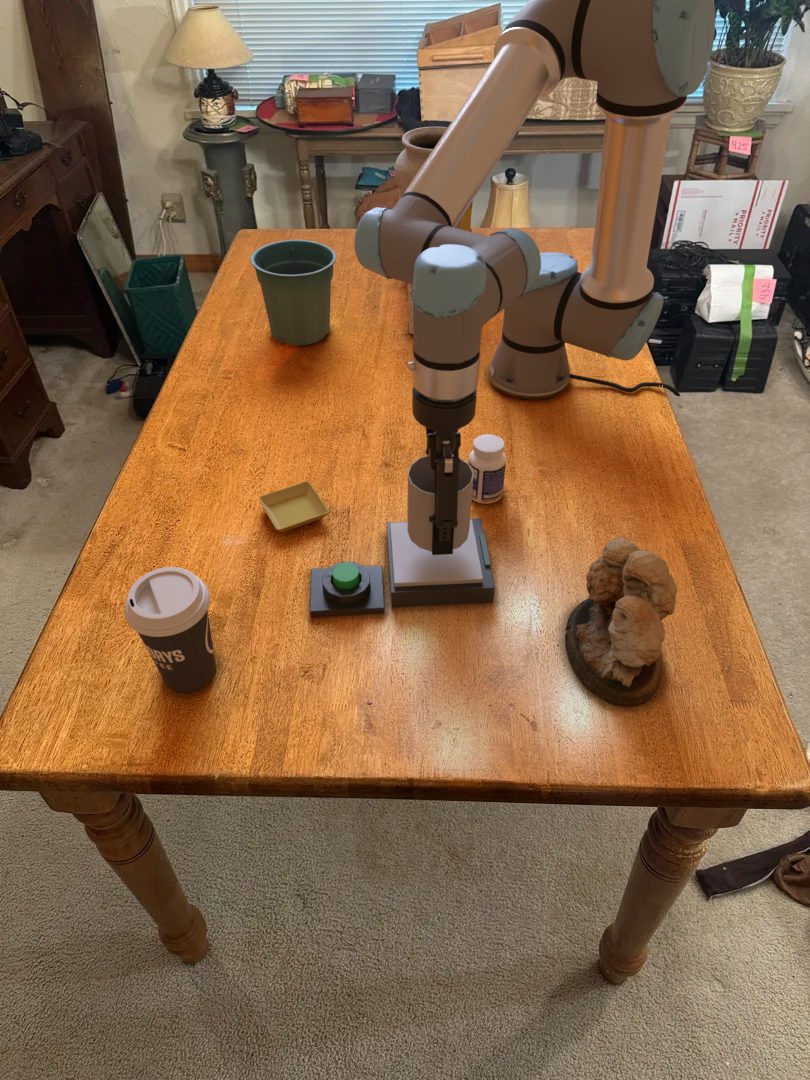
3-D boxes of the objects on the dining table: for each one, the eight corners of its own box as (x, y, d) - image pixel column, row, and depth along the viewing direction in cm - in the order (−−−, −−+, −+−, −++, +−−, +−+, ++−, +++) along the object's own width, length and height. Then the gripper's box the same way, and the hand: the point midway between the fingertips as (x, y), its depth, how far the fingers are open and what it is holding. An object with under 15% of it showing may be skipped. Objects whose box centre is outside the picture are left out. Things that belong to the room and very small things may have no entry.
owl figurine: (549, 601, 104) (567, 508, 93) (632, 594, 105) (660, 501, 94) (585, 712, 92) (611, 621, 80) (679, 703, 92) (719, 612, 81)
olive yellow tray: (278, 540, 113) (276, 530, 112) (258, 506, 119) (256, 496, 117) (331, 522, 116) (330, 512, 115) (310, 489, 122) (308, 479, 120)
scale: (479, 532, 114) (481, 513, 112) (493, 602, 104) (495, 583, 102) (386, 536, 114) (386, 518, 111) (391, 607, 104) (391, 588, 101)
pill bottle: (506, 486, 122) (512, 435, 115) (497, 508, 118) (503, 457, 111) (471, 478, 124) (475, 428, 117) (462, 500, 120) (465, 450, 113)
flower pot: (348, 316, 163) (344, 242, 152) (330, 355, 152) (323, 278, 140) (275, 310, 165) (265, 236, 154) (251, 348, 154) (238, 271, 142)
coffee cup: (157, 644, 99) (128, 564, 89) (231, 639, 100) (210, 559, 89) (145, 706, 92) (112, 627, 82) (224, 700, 93) (202, 621, 83)
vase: (474, 294, 170) (484, 150, 150) (395, 294, 171) (393, 150, 150) (470, 260, 183) (478, 123, 162) (396, 259, 184) (395, 123, 163)
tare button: (359, 570, 105) (358, 562, 104) (359, 590, 103) (359, 581, 101) (333, 572, 105) (332, 563, 104) (333, 591, 103) (332, 582, 101)
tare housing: (382, 570, 109) (381, 556, 107) (384, 613, 103) (384, 598, 101) (312, 574, 108) (310, 559, 106) (310, 617, 103) (308, 602, 100)
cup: (463, 556, 100) (467, 499, 93) (402, 547, 101) (402, 490, 95) (472, 514, 106) (477, 457, 99) (414, 506, 107) (415, 450, 101)
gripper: (406, 341, 95) (406, 481, 111) (419, 442, 80) (417, 587, 96) (466, 339, 96) (457, 479, 111) (489, 439, 81) (476, 584, 96)
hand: (439, 529), depth 104 cm, fingers closed on cup, 8 cm apart
